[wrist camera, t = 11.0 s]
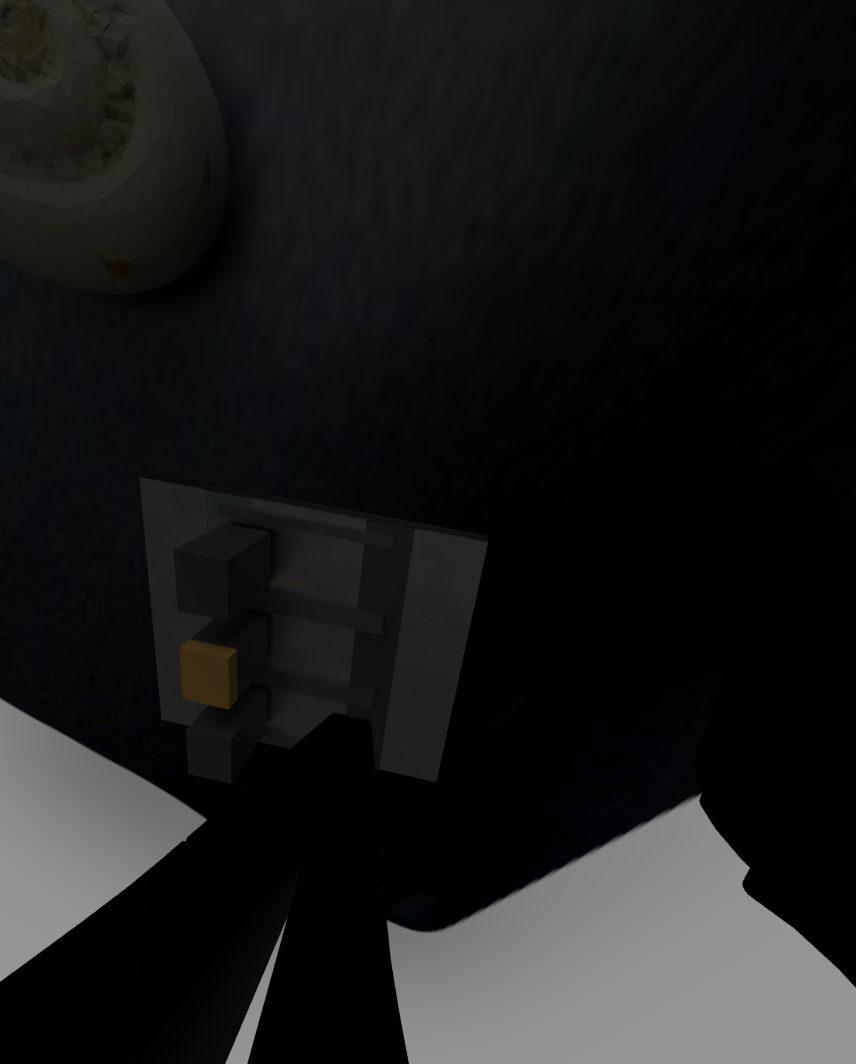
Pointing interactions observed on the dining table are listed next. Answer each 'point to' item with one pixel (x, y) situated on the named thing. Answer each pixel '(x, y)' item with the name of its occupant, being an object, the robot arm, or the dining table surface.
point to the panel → (329, 615)
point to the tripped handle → (223, 659)
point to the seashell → (106, 145)
